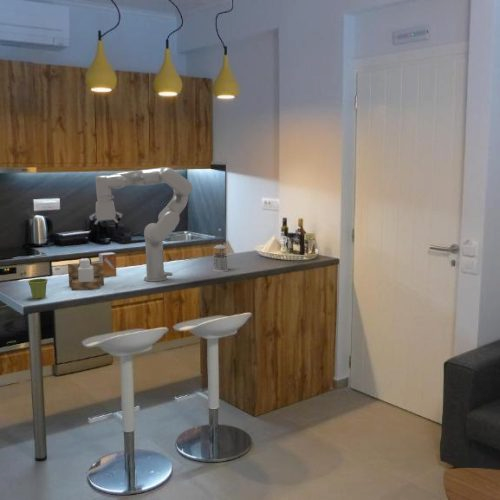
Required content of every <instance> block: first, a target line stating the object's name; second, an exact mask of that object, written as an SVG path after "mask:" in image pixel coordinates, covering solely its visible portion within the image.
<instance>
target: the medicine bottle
mask: <svg viewBox="0 0 500 500" xmlns="http://www.w3.org/2000/svg"><path fill="white" fill-rule="evenodd" d="M78 262H79V263H78V264H80V267H79V268H78V282H92V281H93V280H94V268H93V266H91V263H92V259H91V258H90V257H82V258H79V261H78Z"/></svg>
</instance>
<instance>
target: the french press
mask: <svg viewBox="0 0 500 500" xmlns="http://www.w3.org/2000/svg"><path fill="white" fill-rule="evenodd" d="M221 231H222V228H218V232H221ZM227 248H228V247H227V246H226V245H225V244H221V243H219V244H216V245H215V246H214V247H213V250H219V252H216V253H214V256H213V269H212V271H213V272H228V271H229V268H228V256H227V253H226V252H225V251H224V250H225V249H227ZM222 250H223V251H222Z"/></svg>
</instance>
